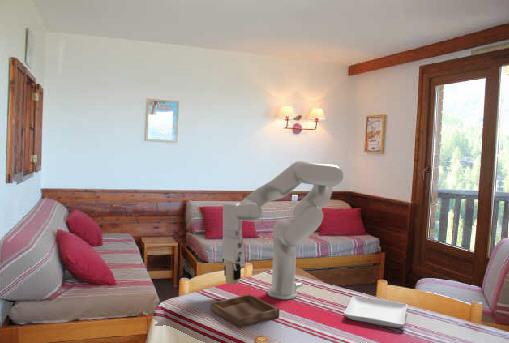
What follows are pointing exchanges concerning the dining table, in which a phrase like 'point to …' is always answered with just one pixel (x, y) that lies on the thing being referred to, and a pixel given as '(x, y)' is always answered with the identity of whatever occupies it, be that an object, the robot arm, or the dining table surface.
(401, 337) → the dining table surface
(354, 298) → the salad plate
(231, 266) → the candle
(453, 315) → the dining table surface
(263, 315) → the walnut tray
